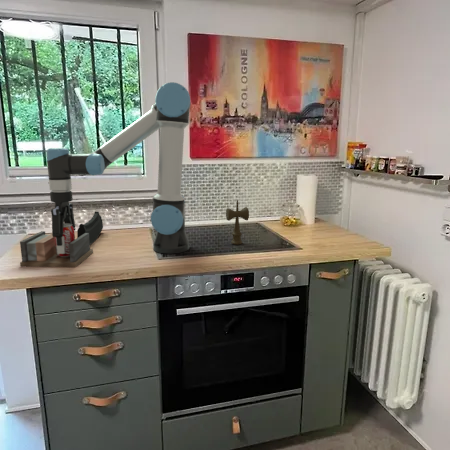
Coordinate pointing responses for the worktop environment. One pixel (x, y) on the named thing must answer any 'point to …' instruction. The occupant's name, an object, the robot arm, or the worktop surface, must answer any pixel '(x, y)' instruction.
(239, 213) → the kendama
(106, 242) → the worktop surface
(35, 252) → the book rack
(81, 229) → the magazine
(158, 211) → the robot arm
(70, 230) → the soda can
